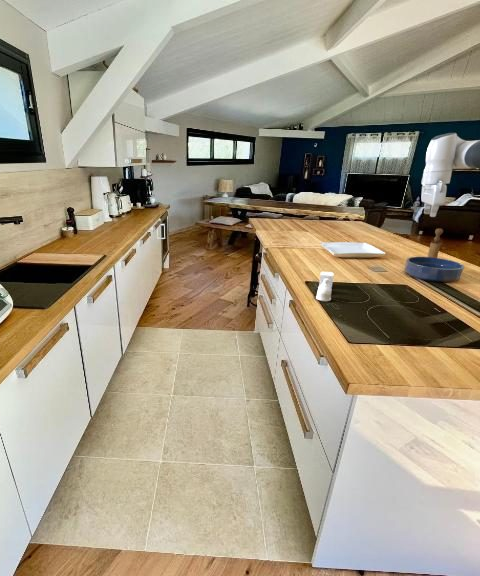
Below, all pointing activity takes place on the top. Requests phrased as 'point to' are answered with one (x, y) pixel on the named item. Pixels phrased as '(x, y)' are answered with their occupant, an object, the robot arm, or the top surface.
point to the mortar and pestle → (435, 244)
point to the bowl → (434, 269)
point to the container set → (325, 286)
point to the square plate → (352, 250)
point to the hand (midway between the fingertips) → (429, 215)
